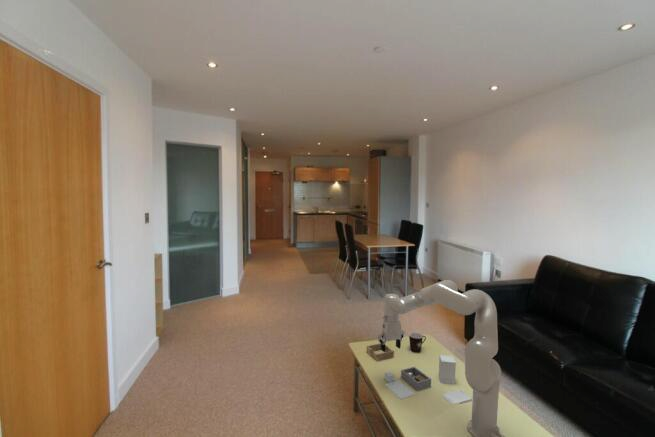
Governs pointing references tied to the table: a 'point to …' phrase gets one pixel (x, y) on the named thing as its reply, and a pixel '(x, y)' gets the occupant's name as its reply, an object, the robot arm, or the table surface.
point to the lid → (397, 386)
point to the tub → (413, 382)
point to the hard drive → (457, 397)
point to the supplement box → (447, 369)
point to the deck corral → (378, 357)
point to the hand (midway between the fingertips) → (390, 349)
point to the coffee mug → (416, 342)
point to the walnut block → (419, 378)
